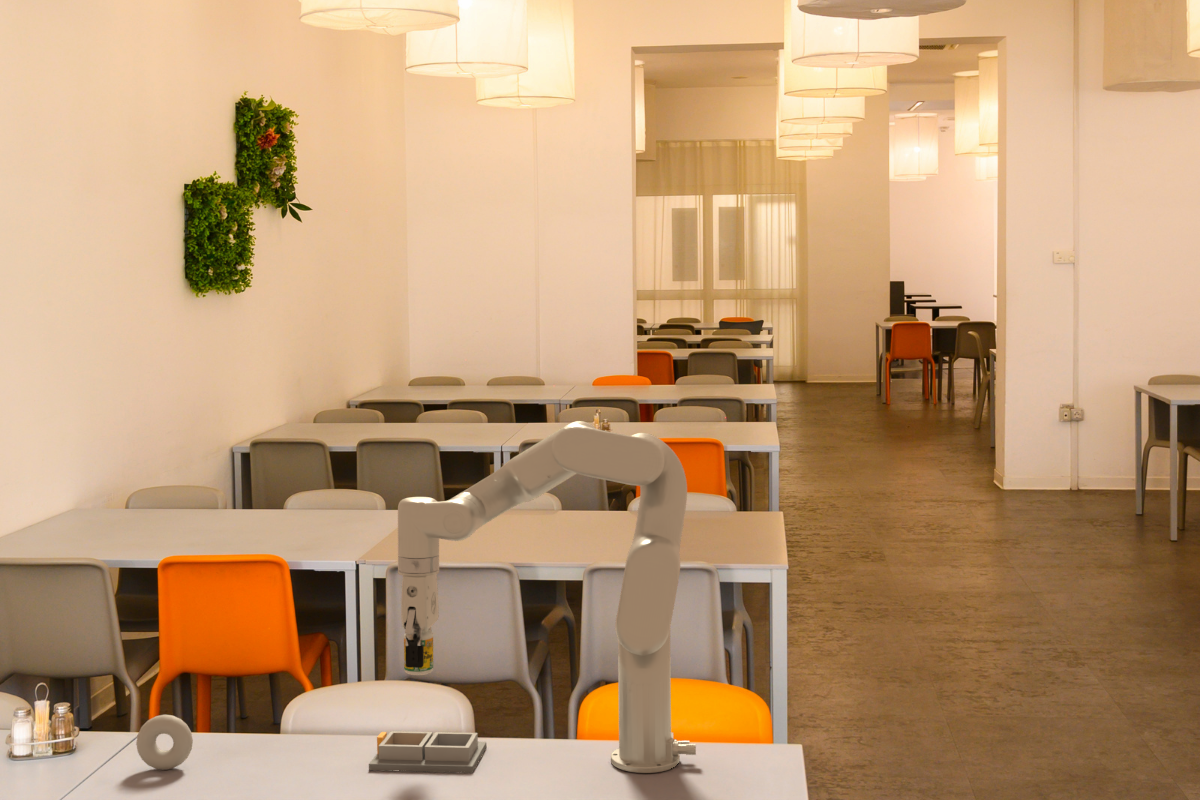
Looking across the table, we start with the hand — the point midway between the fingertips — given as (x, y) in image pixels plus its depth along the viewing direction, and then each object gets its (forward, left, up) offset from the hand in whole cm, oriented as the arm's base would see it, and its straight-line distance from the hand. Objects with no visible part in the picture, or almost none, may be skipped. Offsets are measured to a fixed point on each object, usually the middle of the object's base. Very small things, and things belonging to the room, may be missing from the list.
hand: (418, 661), depth 217 cm
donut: (+45, +8, -19) cm, 50 cm away
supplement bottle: (0, 0, -2) cm, 2 cm away
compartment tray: (-2, 0, -18) cm, 18 cm away
